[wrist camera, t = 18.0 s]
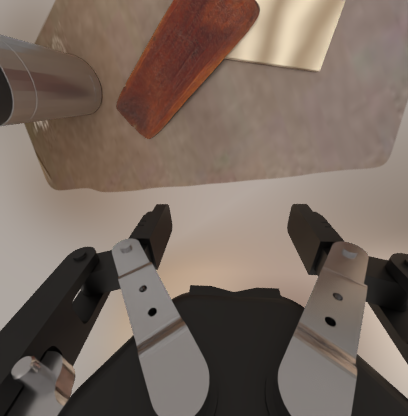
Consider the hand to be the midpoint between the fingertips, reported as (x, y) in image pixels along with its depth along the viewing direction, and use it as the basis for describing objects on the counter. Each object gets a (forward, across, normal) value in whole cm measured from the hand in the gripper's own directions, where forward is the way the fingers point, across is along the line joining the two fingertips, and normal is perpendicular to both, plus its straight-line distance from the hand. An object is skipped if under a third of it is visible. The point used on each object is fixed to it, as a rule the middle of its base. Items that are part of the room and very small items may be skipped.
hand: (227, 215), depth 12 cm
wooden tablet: (+27, +8, -12) cm, 31 cm away
